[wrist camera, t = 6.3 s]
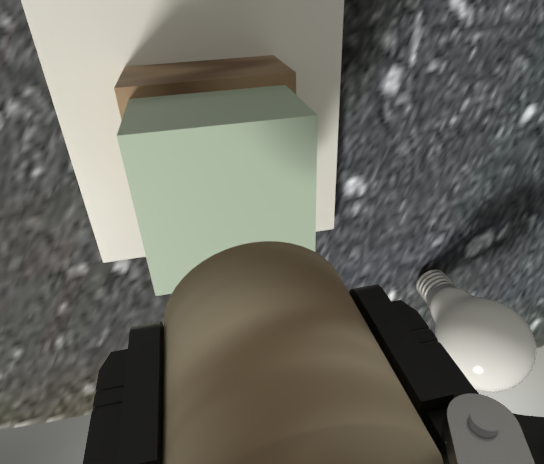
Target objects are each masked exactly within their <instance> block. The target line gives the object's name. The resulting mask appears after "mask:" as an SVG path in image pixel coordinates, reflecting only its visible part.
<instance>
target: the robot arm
mask: <svg viewBox="0 0 544 464" xmlns="http://www.w3.org/2000/svg"><path fill="white" fill-rule="evenodd" d="M349 294H350V296H351V297H352V299H353V301H354V303H355V304H356V306H357V308H358V310H359V311H360V313H361V315H362V317H363V318H364V320H365V322H366V324H367V325H368V327H369V329H370V331H371V332H372V334H373V336H374V338H375V339H376V341H377V343H378V345H379V346H380V348H381V350H382V352H383V353H384V355H385V357H386V359H387V360H388V362H389V364H390V366H391V367H392V369H393V371H394V373H395V374H396V376H397V378H398V380H399V381H400V383H401V385H402V387H403V389H404V390H405V392H406V394H407V396H408V397H409V399H410V401H411V403H412V404H413V406H414V408H415V410H416V411H417V413H418V415H419V417H420V418H421V420H422V422H423V424H424V425H425V427H426V429H427V431H428V432H429V434H430V436H431V438H432V439H433V441H434V443H435V445H436V446H437V448H438V450H439V452H440V453H441V455H442V459H443V463H444V464H544V417H534V416H524V415H517V414H513V413H511V411H509V410H508V409H507V408H506V407H505V406H504V405H502V404H501V403H499V402H498V401H496V400H494V399H492V398H489V397H487V396H484V395H480V394H479V393H478V392H477V391H476V390H475V389H474V387H473V386H472V385H471V383H470V382H469V381H468V379H467V378H466V377H465V375H464V374H463V372H462V371H461V370H460V368H459V367H458V366H457V364H456V363H455V362H454V360H453V359H452V358H451V356H450V355H449V354H448V352H447V351H446V350H445V348H444V347H443V345H442V344H441V343H440V342H438V339H437V337H436V336H435V335H434V333H433V332H432V331H431V330H429V327H428V325H427V324H426V323H425V321H424V320H423V319H422V317H421V316H420V314H419V313H418V312H417V311H416V310H414V309H413V308H411V307H410V306H409V305H407V304H406V303H404V302H403V301H401V300H398V301H393V302H391V301H390V299H389V298H388V296H387V295H386V293H385V292H384V290H383V289H382V288H381V287H380V286H379V285H372V286H366V287H360V288H354V289H351V290H350V291H349ZM163 357H164V327H163V324H162V322H155V323H150V324H144V325H138V326H132V327H131V329H130V335H129V344H128V349H125V350H120V351H114V352H111V353H110V354H109V356H108V358H107V359H106V361H105V362H104V364H103V365H102V367H101V369H100V370H99V374H98V380H97V386H96V394H95V397H94V403H93V411H92V414H91V420H90V426H89V432H88V438H87V443H86V449H85V455H84V461H83V464H162V447H163Z"/></svg>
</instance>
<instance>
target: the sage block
mask: <svg viewBox="0 0 544 464" xmlns="http://www.w3.org/2000/svg"><path fill="white" fill-rule="evenodd" d="M317 125H318V115H317V114H316V113H315V112H314V111H313V110H312V109H311V108H310V107H309V106H307V105H306V104H305V103H304V102H303V101H302V100H301V99H300V98H299V97H298V96H297V95H296V94H295V93H294V92H293V91H292V90H291V89H289V88H288V87H287V86H286V85H278V86H267V87H256V88H245V89H234V90H222V91H211V92H200V93H189V94H178V95H167V96H156V97H144V98H133V99H129V100H128V103H127V106H126V109H125V112H124V115H123V118H122V121H121V124H120V127H119V130H118V133H117V139H118V143H119V148H120V152H121V156H122V160H123V164H124V168H125V172H126V176H127V180H128V185H129V189H130V193H131V197H132V201H133V205H134V209H135V213H136V217H137V221H138V226H139V230H140V234H141V238H142V242H143V246H144V250H145V254H146V258H147V263H148V267H149V271H150V275H151V279H152V283H153V287H154V291H155V295H156V296H159V295H165V294H171V293H173V291H174V289H175V287H176V286H177V285H178V284H179V282H180V281H181V280H182V279H183V277H184V276H186V275H187V274H188V273H189V272H190V271H191V270H192V269H193V268H194V267H196V266H197V265H198V264H200V263H201V262H202V261H204V260H206V259H207V258H209V257H211V256H213V255H214V254H217V253H219V252H221V251H223V250H226V249H229V248H232V247H235V246H238V245H242V244H247V243H252V242H263V241H279V242H286V243H292V244H296V245H299V246H303V247H305V248H308V249H310V250H312V251H314V252H315V234H316V179H317Z"/></svg>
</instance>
